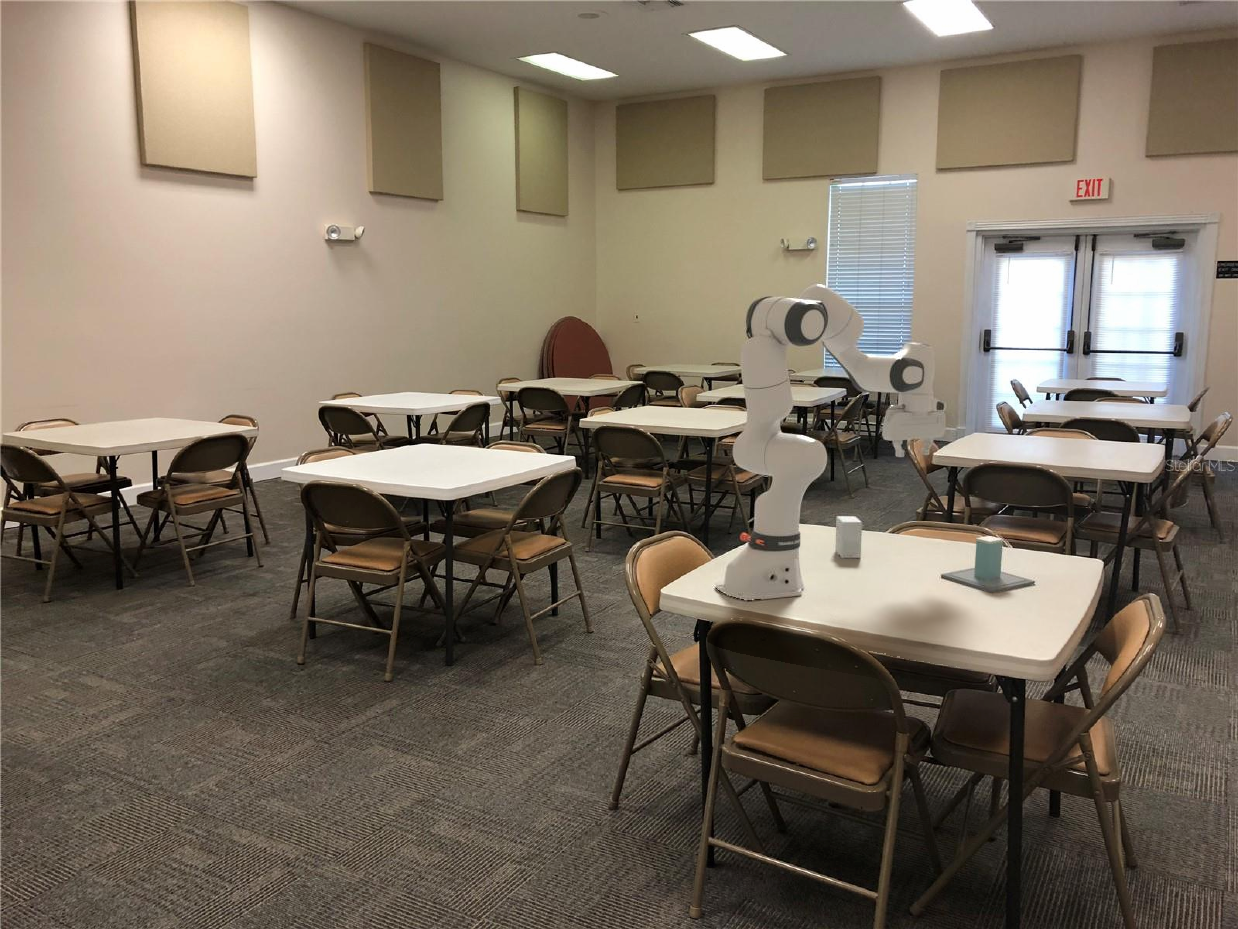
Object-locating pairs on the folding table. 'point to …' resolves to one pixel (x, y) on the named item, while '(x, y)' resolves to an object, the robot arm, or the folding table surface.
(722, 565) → the folding table surface
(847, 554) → the small box
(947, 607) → the folding table surface
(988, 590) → the plate
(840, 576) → the folding table surface
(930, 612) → the folding table surface
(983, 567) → the teal tin
